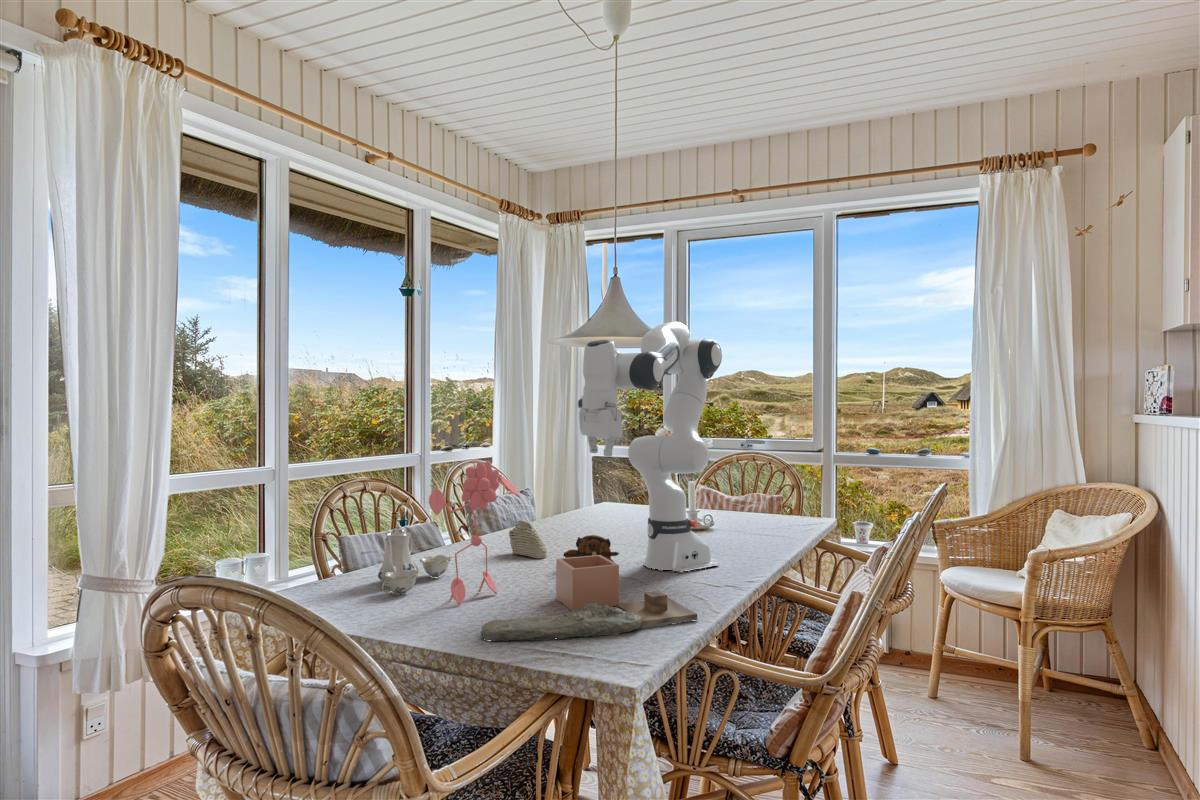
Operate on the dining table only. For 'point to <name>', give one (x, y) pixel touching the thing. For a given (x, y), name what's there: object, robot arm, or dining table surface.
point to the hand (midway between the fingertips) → (600, 454)
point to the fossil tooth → (526, 541)
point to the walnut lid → (657, 609)
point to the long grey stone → (564, 625)
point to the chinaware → (406, 563)
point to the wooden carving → (591, 547)
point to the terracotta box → (587, 581)
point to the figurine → (479, 494)
